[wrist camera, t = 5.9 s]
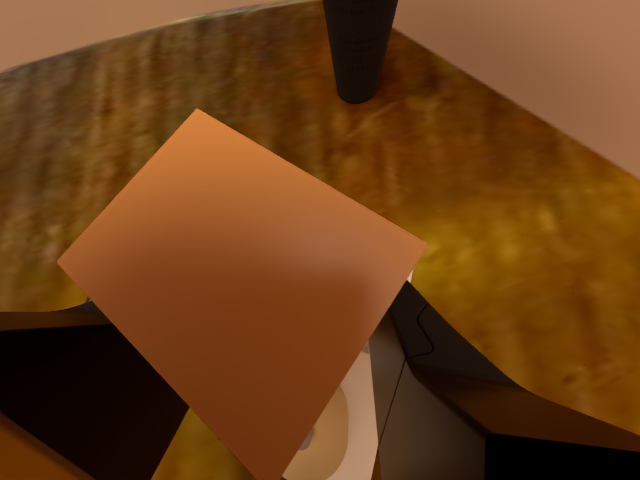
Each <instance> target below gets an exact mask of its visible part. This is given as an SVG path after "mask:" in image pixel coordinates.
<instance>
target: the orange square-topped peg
mask: <svg viewBox="0 0 640 480" xmlns="http://www.w3.org/2000/svg"><path fill="white" fill-rule="evenodd" d="M428 245H429V244H427V243H426V242H424V241H422V240H421V239H419V238H417V237H415V236H414V235H412V234H410V233H409V232H407V231H405V230H404V229H402V228H400V227H398V226H397V225H395V224H393V223H392V222H390V221H388V220H386V219H385V218H383V217H381V216H380V215H378V214H376V213H375V212H373V211H371V210H369V209H368V208H366V207H364V206H363V205H361V204H359V203H357V202H356V201H354V200H352V199H351V198H349V197H347V196H346V195H344V194H342V193H340V192H339V191H337V190H335V189H334V188H332V187H330V186H328V185H327V184H325V183H323V182H322V181H320V180H318V179H317V178H315V177H313V176H311V175H310V174H308V173H306V172H305V171H303V170H301V169H299V168H298V167H296V166H294V165H293V164H291V163H289V162H288V161H286V160H284V159H282V158H281V157H279V156H277V155H276V154H274V153H272V152H270V151H269V150H267V149H265V148H264V147H262V146H260V145H259V144H257V143H255V142H253V141H252V140H250V139H248V138H247V137H245V136H243V135H241V134H240V133H238V132H236V131H235V130H233V129H231V128H230V127H228V126H226V125H224V124H223V123H221V122H219V121H218V120H216V119H214V118H212V117H211V116H209V115H207V114H206V113H204V112H202V111H201V110H199V109H196V110H195V111H194V112H193V113H192V114H191V115H190V116H189V118H188V119H187V120H186V121H185V122H184V123H183V124H182V125H181V126H180V127H179V128H178V130H177V131H176V132H175V133H174V134H173V135H172V136H171V137H170V138H169V139H168V140H167V142H166V143H165V144H164V145H163V146H162V147H161V148H160V149H159V150H158V151H157V152H156V154H155V155H154V156H153V157H152V158H151V159H150V160H149V161H148V162H147V163H146V164H145V166H144V167H143V168H142V169H141V170H140V171H139V172H138V173H137V174H136V175H135V176H134V178H133V179H132V180H131V181H130V182H129V183H128V184H127V185H126V186H125V187H124V188H123V190H122V191H121V192H120V193H119V194H118V195H117V196H116V197H115V198H114V199H113V200H112V202H111V203H110V204H109V205H108V206H107V207H106V208H105V209H104V210H103V211H102V212H101V214H100V215H99V216H98V217H97V218H96V219H95V220H94V221H93V222H92V223H91V224H90V226H89V227H88V228H87V229H86V230H85V231H84V232H83V233H82V234H81V235H80V236H79V238H78V239H77V240H76V241H75V242H74V243H73V244H72V245H71V246H70V247H69V248H68V250H67V251H66V252H65V253H64V254H63V255H62V256H61V257H60V258H59V259H58V260H57V263H58V264H59V266H60V267H61V268H62V269H63V270H64V271H65V272H66V273H67V274H68V275H69V276H70V277H71V279H72V280H73V281H74V282H75V283H76V284H77V285H78V286H79V287H80V288H81V289H82V291H83V292H84V293H85V294H86V295H87V296H88V297H89V298H90V299H91V300H92V301H93V302H94V304H95V305H96V306H97V307H98V308H99V309H100V310H101V311H102V312H103V313H104V314H105V315H106V317H107V318H108V319H109V320H110V321H111V322H112V323H113V324H114V325H115V326H116V327H117V328H118V330H119V331H120V332H121V333H122V334H123V335H124V336H125V337H126V338H127V339H128V340H129V342H130V343H131V344H132V345H133V346H134V347H135V348H136V349H137V350H138V351H139V352H140V353H141V355H142V356H143V357H144V358H145V359H146V360H147V361H148V362H149V363H150V364H151V365H152V366H153V368H154V369H155V370H156V371H157V372H158V373H159V374H160V375H161V376H162V377H163V378H164V379H165V381H166V382H167V383H168V384H169V385H170V386H171V387H172V388H173V389H174V390H175V391H176V392H177V394H178V395H179V396H180V397H181V398H182V399H183V400H184V401H185V402H186V403H187V404H188V406H189V407H190V408H191V409H192V410H193V411H194V412H195V413H196V414H197V415H198V416H199V417H200V419H201V420H202V421H203V422H204V423H205V424H206V425H207V426H208V427H209V428H210V429H211V430H212V432H213V433H214V434H215V435H216V436H217V437H218V438H219V439H220V440H221V441H222V442H223V443H224V445H225V446H226V447H227V448H228V449H229V450H230V451H231V452H232V453H233V454H234V455H235V457H236V458H237V459H238V460H239V461H240V462H241V463H242V464H243V465H244V466H245V467H246V468H247V470H248V471H249V472H250V473H251V474H252V475H253V476H254V477H255V478H256V479H257V480H280V478H281V477H282V475H283V473H284V472H285V470H286V469H287V467H288V466H289V464H290V462H291V461H292V459H293V458H294V456H295V455H296V453H297V451H298V450H299V448H300V447H301V445H302V444H303V442H304V440H305V439H306V437H307V436H308V434H309V432H310V431H311V429H312V428H313V426H314V425H315V423H316V421H317V420H318V418H319V417H320V415H321V414H322V412H323V410H324V409H325V407H326V406H327V404H328V403H329V401H330V399H331V398H332V396H333V395H334V393H335V392H336V390H337V388H338V387H339V385H340V384H341V382H342V381H343V379H344V377H345V376H346V374H347V373H348V371H349V370H350V368H351V366H352V365H353V363H354V362H355V360H356V359H357V357H358V355H359V354H360V352H361V351H362V349H363V348H364V346H365V344H366V343H367V341H368V340H369V338H370V337H371V335H372V333H373V332H374V330H375V329H376V327H377V326H378V324H379V322H380V321H381V319H382V318H383V316H384V314H385V313H386V311H387V310H388V308H389V307H390V305H391V303H392V302H393V300H394V299H395V297H396V296H397V294H398V292H399V291H400V289H401V288H402V286H403V285H404V283H405V281H406V280H407V278H408V277H409V275H410V274H411V272H412V270H413V269H414V267H415V266H416V264H417V263H418V261H419V259H420V258H421V256H422V255H423V253H424V252H425V250H426V248H427V247H428Z"/></svg>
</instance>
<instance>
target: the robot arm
mask: <svg viewBox="0 0 640 480" xmlns="http://www.w3.org/2000/svg"><path fill="white" fill-rule="evenodd" d="M369 351H370V361H371V372H372V383H373V393H374V404H375V415H376V426H377V436H378V445H379V458H380V469H381V480H640V436H639V435H637V434H634V433H632V432H629V431H627V430H624V429H621V428H619V427H616V426H614V425H611V424H609V423H606V422H604V421H601V420H598V419H596V418H593V417H591V416H588V415H586V414H583V413H580V412H578V411H575V410H573V409H570V408H568V407H565V406H563V405H560V404H557V403H555V402H552V401H550V400H547V399H545V398H542V397H540V396H538V395H535V394H533V393H532V392H530V391H528V390H526V389H524V388H523V387H521V386H519V385H518V384H517V383H515V382H514V381H513V380H511V379H510V378H509V377H507V376H506V375H505V374H504V373H503V372H502V371H500V370H499V369H498V368H497V367H496V366H495V365H494V364H493V363H492V362H490V361H489V360H488V359H487V358H486V357H485V356H484V355H483V354H481V353H480V352H479V351H478V350H477V349H476V348H475V347H474V346H473V345H471V344H470V343H469V342H468V341H467V340H466V339H465V338H464V337H462V336H461V335H460V334H459V333H458V332H457V331H456V330H455V329H454V328H453V327H452V326H451V325H450V324H449V323H448V322H447V321H446V320H445V319H444V318H443V317H442V316H441V315H440V314H439V313H438V312H437V311H436V310H435V309H434V308H433V307H432V306H431V305H430V304H428V302H427V301H426V300H425V298H424V297H423V296H422V295H421V294H420V293H419V292H418V291H417V290H416V289H415V288H414V287H413V286H412V284H411V283H410V282H409V281H408V280H406V281H405V283H404V285H403V286H402V288H401V289H400V291H399V292H398V294H397V296H396V297H395V299H394V300H393V302H392V303H391V305H390V307H389V308H388V310H387V311H386V313H385V314H384V316H383V318H382V319H381V321H380V322H379V324H378V326H377V327H376V329H375V330H374V332H373V333H372V335H371V337H370V338H369ZM188 409H189V406H188V404H187V403H186V402H185V401H184V400H183V399H182V398H181V397H180V396H179V395H178V394H177V392H176V391H175V390H174V389H173V388H172V387H171V386H170V385H169V384H168V383H167V382H166V381H165V379H164V378H163V377H162V376H161V375H160V374H159V373H158V372H157V371H156V370H155V369H154V368H153V366H152V365H151V364H150V363H149V362H148V361H147V360H146V359H145V358H144V357H143V356H142V355H141V353H140V352H139V351H138V350H137V349H136V348H135V347H134V346H133V345H132V344H131V343H130V342H129V340H128V339H127V338H126V337H125V336H124V335H123V334H122V333H121V332H120V331H119V330H118V328H117V327H116V326H115V325H114V324H113V323H112V322H111V321H110V320H109V319H108V318H107V317H106V315H105V314H104V313H103V312H102V311H101V310H100V309H99V308H98V307H97V306H96V305H95V304H94V302H93V301H90V302H87V303H84V304H82V305H79V306H75V307H72V308H68V309H64V310H58V311H50V312H0V480H151V478H152V476H153V475H154V473H155V471H156V469H157V467H158V465H159V463H160V461H161V460H162V458H163V456H164V454H165V452H166V450H167V448H168V447H169V445H170V443H171V441H172V439H173V437H174V435H175V434H176V432H177V430H178V428H179V426H180V424H181V422H182V420H183V419H184V417H185V415H186V413H187V411H188Z"/></svg>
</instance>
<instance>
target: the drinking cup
mask: <svg viewBox="0 0 640 480" xmlns="http://www.w3.org/2000/svg"><path fill="white" fill-rule="evenodd" d="M397 3H398V0H323V5H324V11H325V17H326V24H327V30H328V36H329V42H330V49H331V55H332V61H333V67H334V74H335V80H336V86H337V92H338V94H339V96H340V97H341V98H342V99H343V100H344V101H346V102H349V103H362V102H365V101H367V100H369V99H370V98H372V97H373V96H374V94H375V93H376V91H377V88H378V84H379V79H380V75H381V71H382V67H383V62H384V58H385V54H386V50H387V45H388V41H389V37H390V33H391V28H392V24H393V20H394V15H395V11H396V7H397Z"/></svg>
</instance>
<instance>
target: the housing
mask: <svg viewBox="0 0 640 480" xmlns="http://www.w3.org/2000/svg"><path fill="white" fill-rule="evenodd" d="M412 272H413V270H412ZM412 272H411V274H410V275H409V277H408V278H407V280H408V281H409V282H411V277H412ZM377 447H378V436H377V426H376V415H375V404H374V393H373V383H372V372H371V361H370V351H369V340H368V341H367V343H366V344H365V346H364V348H363V349H362V351H361V352H360V354H359V355H358V357H357V359H356V360H355V362H354V363H353V365H352V366H351V368H350V370H349V371H348V373H347V374H346V376H345V377H344V379H343V381H342V382H341V384H340V385H339V387H338V388H337V390H336V392H335V393H334V395H333V396H332V398H331V399H330V401H329V403H328V404H327V406H326V407H325V409H324V410H323V412H322V414H321V415H320V417H319V418H318V420H317V421H316V423H315V425H314V426H313V428H312V429H311V431H310V432H309V434H308V436H307V437H306V439H305V440H304V442H303V444H302V445H301V447H300V448H299V450H298V451H297V453H296V455H295V456H294V458H293V459H292V461H291V462H290V464H289V466H288V467H287V469H286V470H285V472H284V473H283V475H282V476H283V477H284V478H285V479H287V480H371V477H372V472H373V467H374V462H375V457H376V452H377Z"/></svg>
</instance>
